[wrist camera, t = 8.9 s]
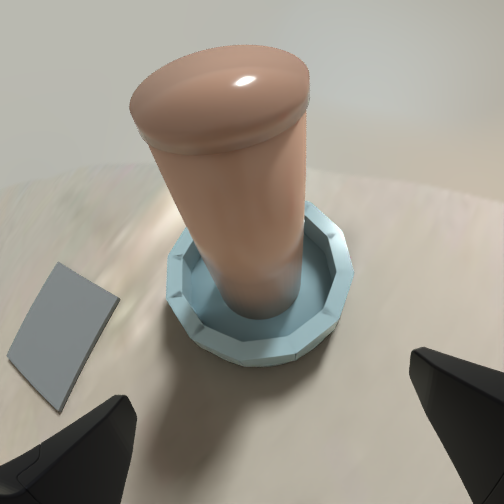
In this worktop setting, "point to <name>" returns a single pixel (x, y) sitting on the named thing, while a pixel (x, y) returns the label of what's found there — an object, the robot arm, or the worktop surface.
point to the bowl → (273, 329)
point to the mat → (61, 333)
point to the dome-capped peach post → (235, 165)
